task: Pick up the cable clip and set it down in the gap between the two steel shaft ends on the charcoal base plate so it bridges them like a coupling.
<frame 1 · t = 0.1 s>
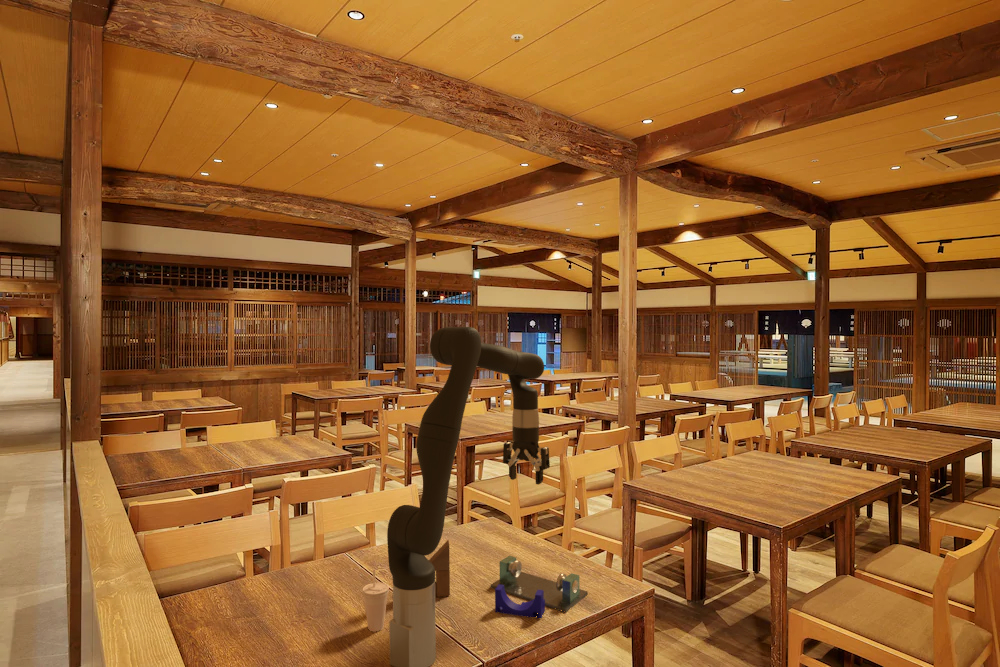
hand: (525, 481, 159), 29 cm above the table, tool pointing down, fingers open, 8 cm apart
smoothie: (376, 628, 136), on the table
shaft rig: (538, 590, 154), on the table
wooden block: (429, 595, 153), on the table
cable clip: (520, 612, 143), on the table
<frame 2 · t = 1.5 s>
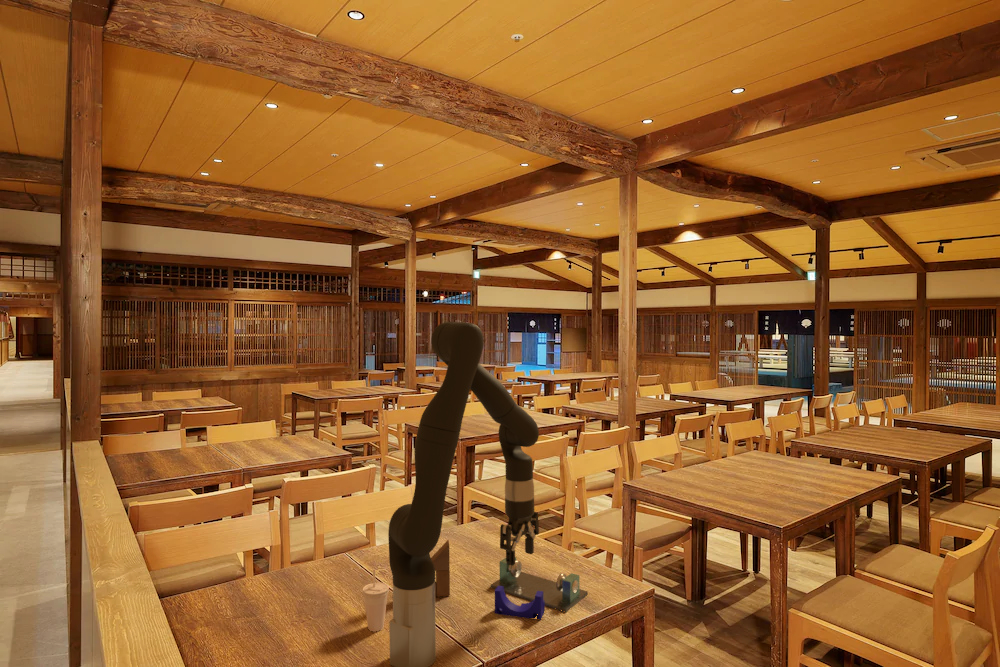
hand: (520, 558, 143), 13 cm above the table, tool pointing down, fingers open, 8 cm apart
nothing on the table moved.
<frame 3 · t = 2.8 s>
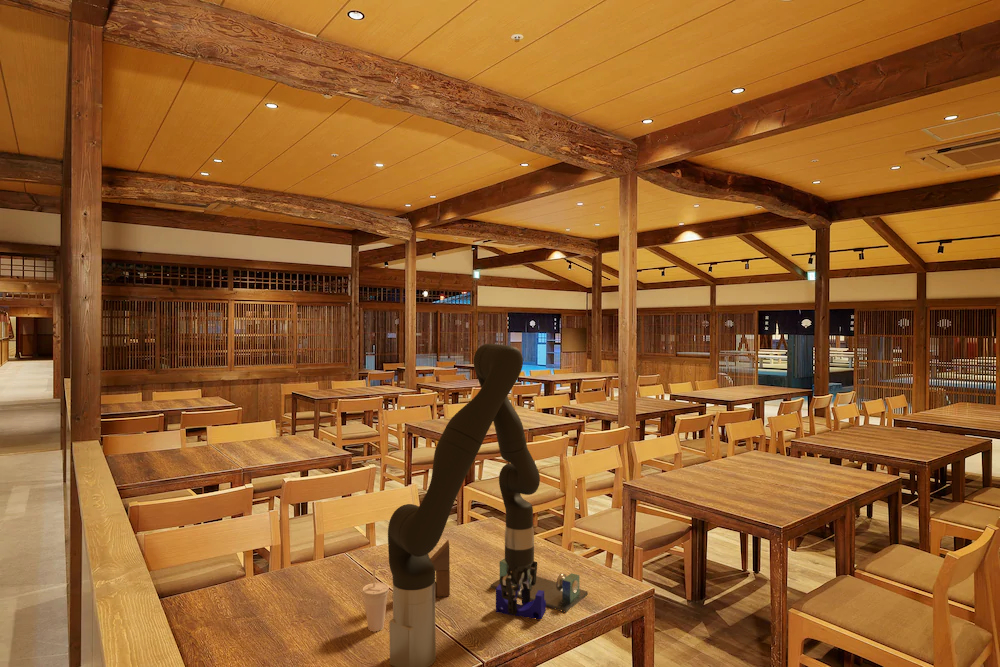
hand: (519, 608, 143), 1 cm above the table, tool pointing down, fingers closed on cable clip, 5 cm apart
cable clip: (520, 613, 143), on the table, touching gripper
everything else where it was.
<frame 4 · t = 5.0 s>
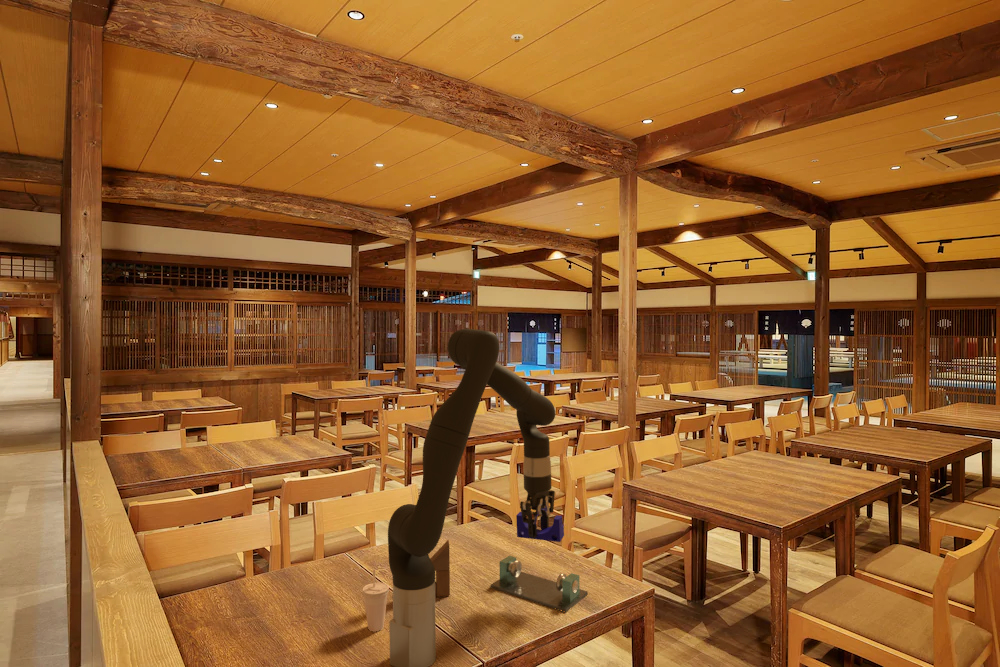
hand: (538, 533, 153), 17 cm above the table, tool pointing down, fingers closed on cable clip, 5 cm apart
cable clip: (540, 537, 153), point 16 cm above the table, touching gripper
everything else where it was.
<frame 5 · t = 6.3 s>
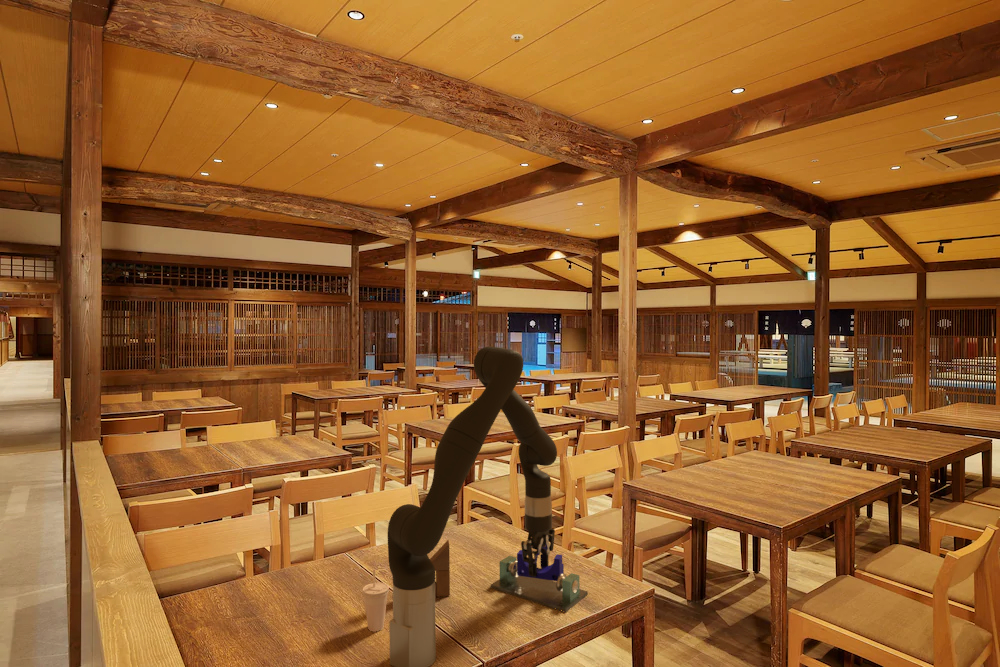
hand: (538, 571, 154), 5 cm above the table, tool pointing down, fingers closed on cable clip, 5 cm apart
cable clip: (540, 575, 154), point 4 cm above the table, touching gripper
everything else where it was.
when the fingers open (3 cm above the table, at t = 7.0 s): cable clip drops 1 cm, resting on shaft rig.
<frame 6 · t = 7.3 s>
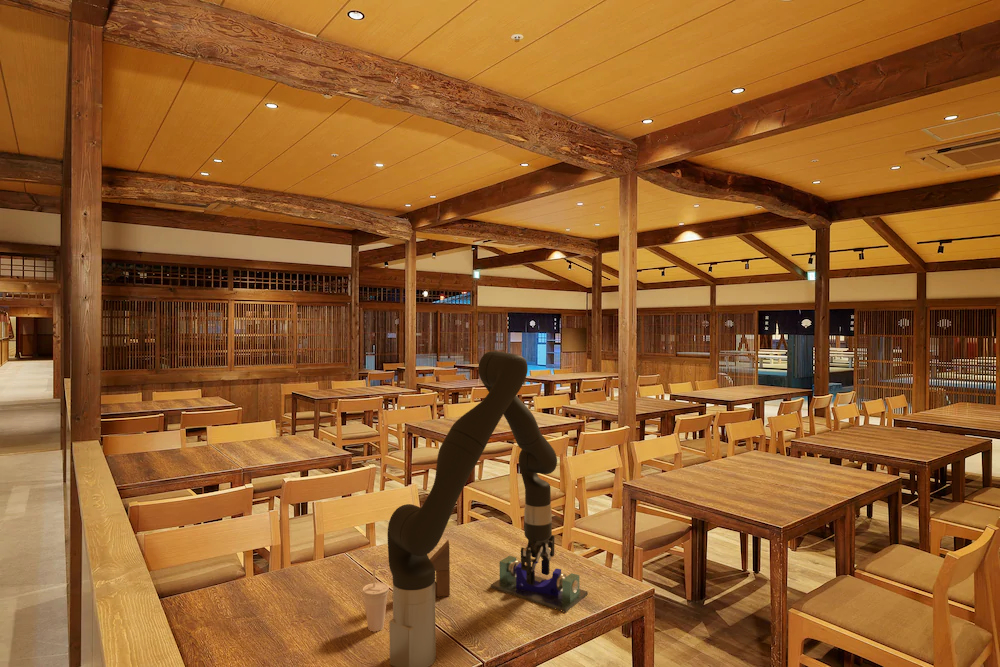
hand: (538, 578, 154), 3 cm above the table, tool pointing down, fingers open, 7 cm apart
cable clip: (539, 589, 154), point 1 cm above the table, touching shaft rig
everything else where it was.
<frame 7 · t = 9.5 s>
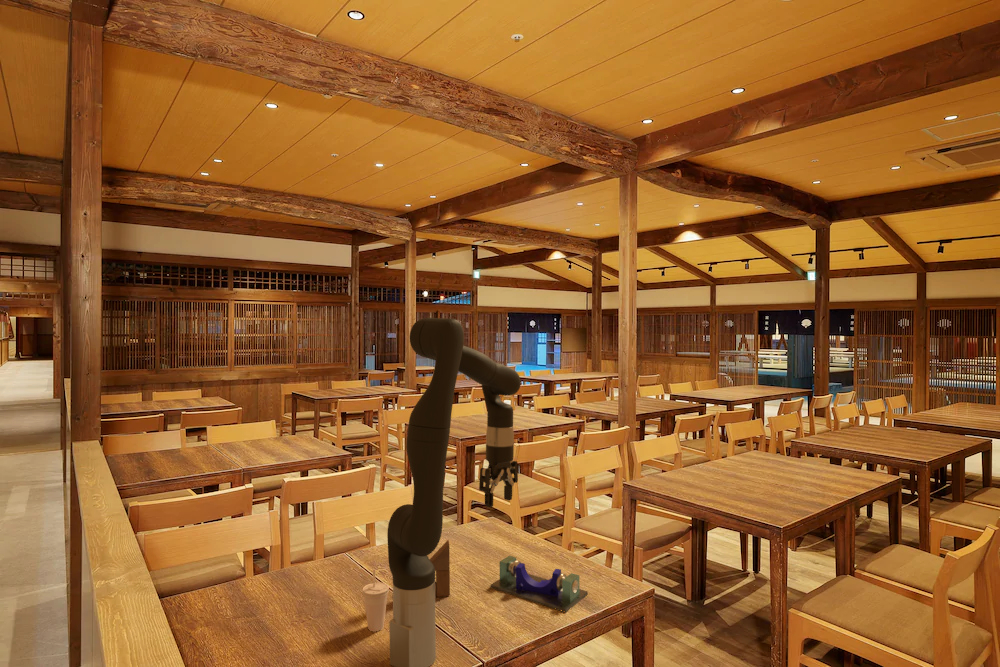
hand: (498, 503, 151), 25 cm above the table, tool pointing down, fingers open, 8 cm apart
nothing on the table moved.
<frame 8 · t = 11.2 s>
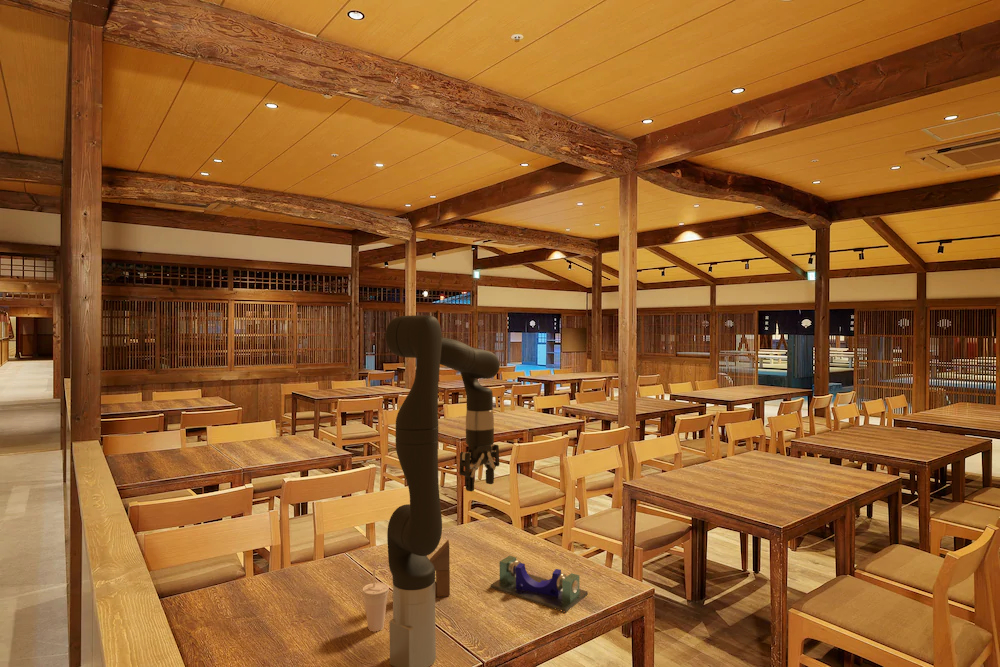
hand: (480, 487, 150), 30 cm above the table, tool pointing down, fingers open, 8 cm apart
nothing on the table moved.
at the end: cable clip inside the target area on the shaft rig (0.6 cm from its centre), point 0.6 cm above the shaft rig's base; the gripper is holding nothing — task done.
